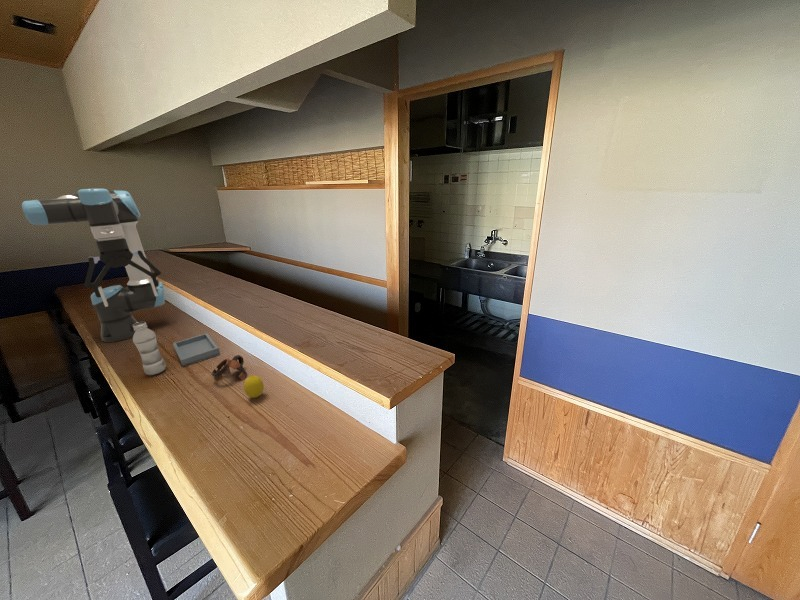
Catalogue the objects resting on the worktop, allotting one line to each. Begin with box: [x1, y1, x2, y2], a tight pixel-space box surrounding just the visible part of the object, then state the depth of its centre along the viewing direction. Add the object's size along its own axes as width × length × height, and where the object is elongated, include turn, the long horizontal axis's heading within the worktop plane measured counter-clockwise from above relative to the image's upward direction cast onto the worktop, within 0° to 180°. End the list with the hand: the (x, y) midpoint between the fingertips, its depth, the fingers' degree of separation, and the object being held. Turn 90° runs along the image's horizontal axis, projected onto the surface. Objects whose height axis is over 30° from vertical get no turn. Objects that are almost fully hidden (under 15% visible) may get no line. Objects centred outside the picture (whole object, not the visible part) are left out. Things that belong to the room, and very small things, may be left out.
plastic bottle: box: [132, 321, 167, 376], centre depth 115 cm, size 6×7×20 cm
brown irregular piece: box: [211, 354, 248, 381], centre depth 113 cm, size 12×10×8 cm
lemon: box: [243, 375, 265, 398], centre depth 100 cm, size 6×6×8 cm
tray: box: [172, 332, 221, 368], centre depth 132 cm, size 20×13×3 cm, turn 42°
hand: (132, 300), depth 111 cm, fingers open, 13 cm apart
